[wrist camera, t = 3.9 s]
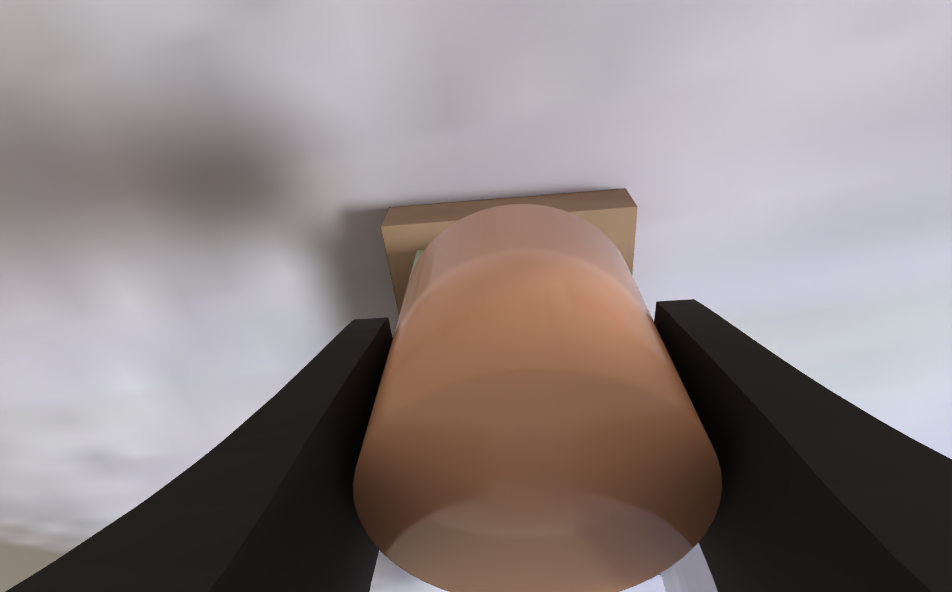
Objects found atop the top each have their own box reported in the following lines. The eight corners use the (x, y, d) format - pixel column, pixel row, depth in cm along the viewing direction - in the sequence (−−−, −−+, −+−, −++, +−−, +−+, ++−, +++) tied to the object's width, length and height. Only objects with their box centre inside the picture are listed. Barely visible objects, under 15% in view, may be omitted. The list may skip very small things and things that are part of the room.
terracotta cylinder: (626, 389, 11) (695, 602, 7) (423, 399, 11) (388, 607, 8) (642, 194, 9) (756, 355, 5) (387, 213, 9) (310, 379, 5)
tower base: (610, 363, 22) (622, 400, 20) (425, 373, 22) (419, 410, 20) (621, 182, 17) (637, 206, 16) (392, 200, 18) (380, 226, 16)
